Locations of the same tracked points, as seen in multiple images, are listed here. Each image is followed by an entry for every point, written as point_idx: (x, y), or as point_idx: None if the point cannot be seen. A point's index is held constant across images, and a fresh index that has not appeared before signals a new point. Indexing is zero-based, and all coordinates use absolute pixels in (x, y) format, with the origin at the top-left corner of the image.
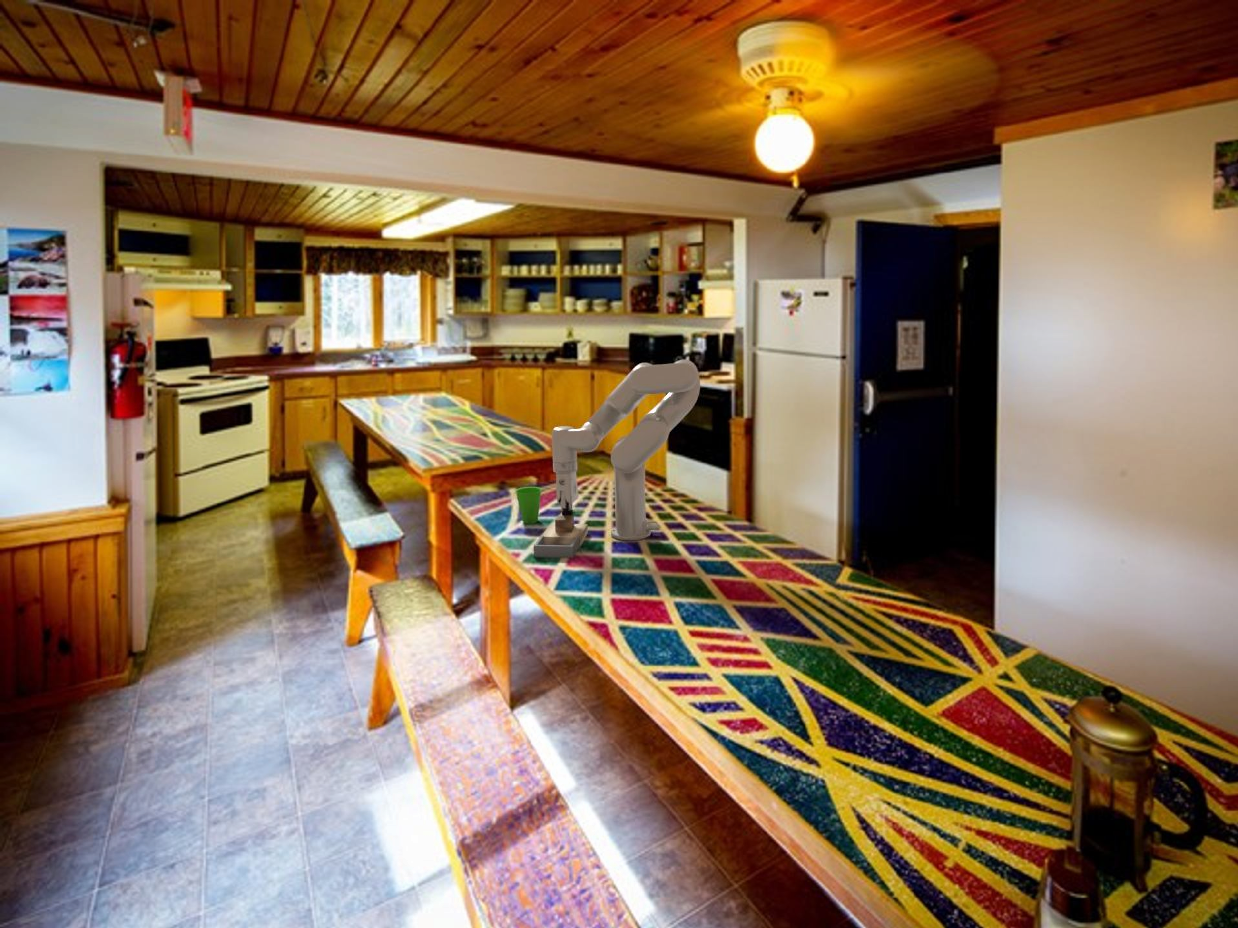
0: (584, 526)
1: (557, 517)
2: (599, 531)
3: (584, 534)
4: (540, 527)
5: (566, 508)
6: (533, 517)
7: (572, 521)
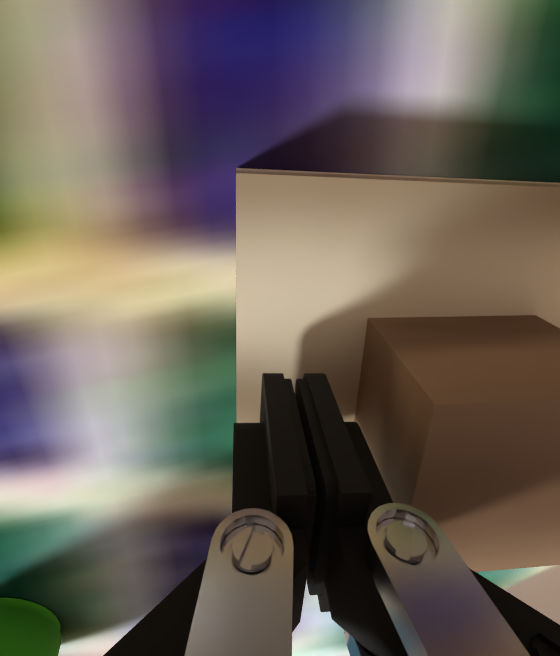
0: (336, 200)
1: (488, 562)
2: (156, 17)
3: (433, 178)
4: (128, 551)
5: (523, 618)
6: (28, 651)
7: (520, 366)
